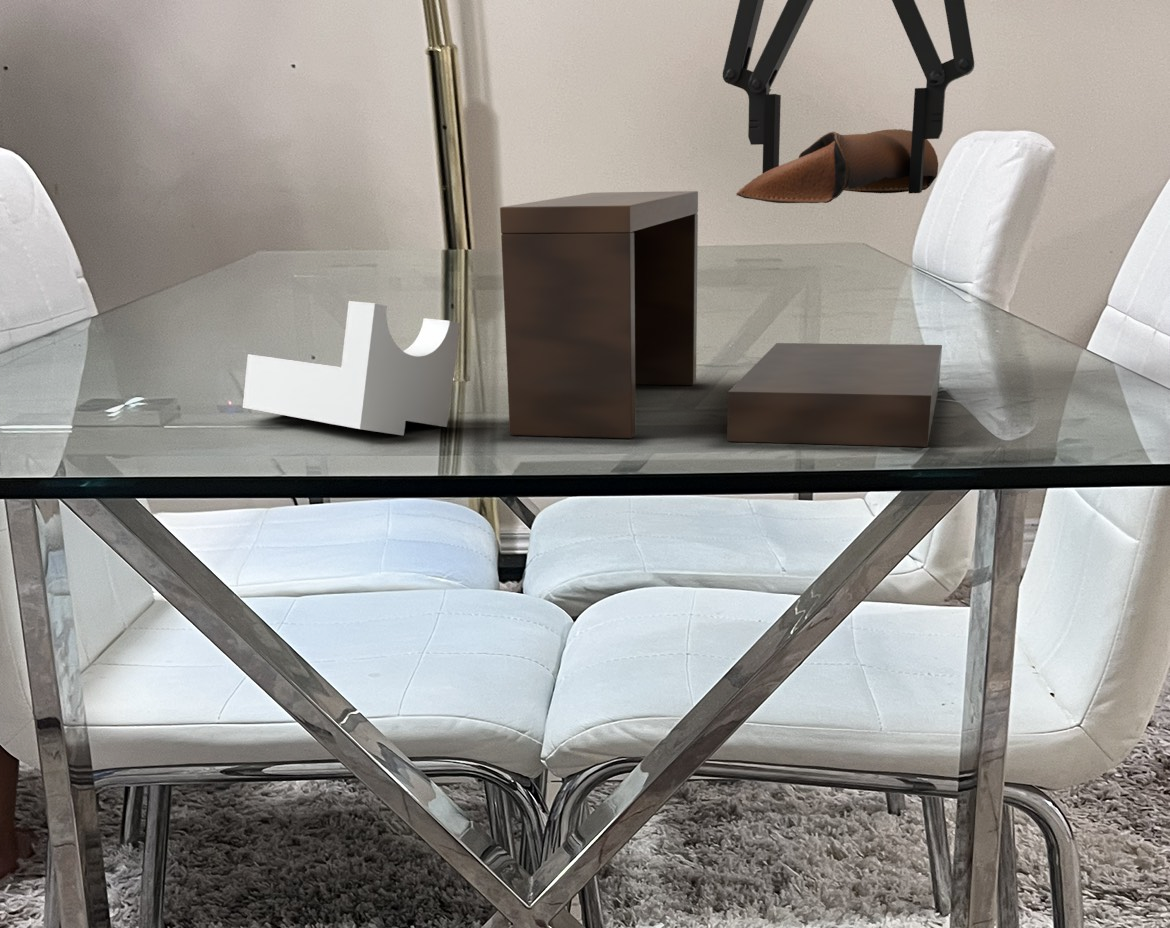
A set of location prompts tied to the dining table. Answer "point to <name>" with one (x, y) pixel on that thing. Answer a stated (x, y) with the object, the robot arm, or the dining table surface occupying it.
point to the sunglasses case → (844, 169)
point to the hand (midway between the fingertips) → (841, 194)
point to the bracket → (363, 377)
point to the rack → (672, 335)
